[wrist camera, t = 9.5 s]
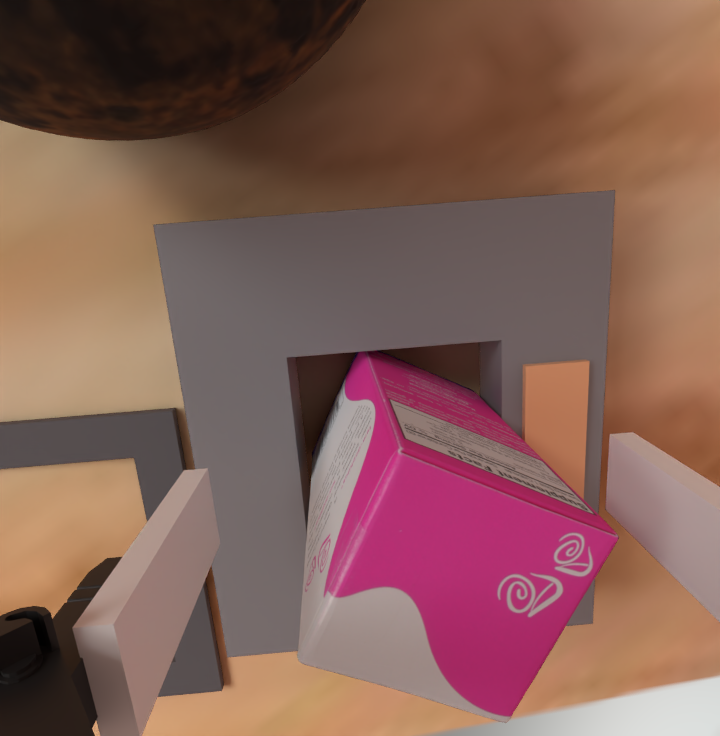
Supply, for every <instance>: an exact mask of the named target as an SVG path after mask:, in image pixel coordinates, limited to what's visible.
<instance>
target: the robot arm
mask: <svg viewBox="0 0 720 736" xmlns="http://www.w3.org/2000/svg"><path fill="white" fill-rule="evenodd" d="M605 510H606V511H607V512H608V513H609V514H610V515H611V516H612V517H614V518H615V519H616V520H617V521H618V522H619V523H620V524H621V525H622V526H623V527H624V528H625V529H626V530H627V531H628V532H629V533H630V534H631V535H632V536H633V537H634V538H635V539H636V540H637V541H638V542H639V543H640V544H641V545H642V546H643V547H644V548H645V549H646V550H647V551H648V552H649V553H650V554H651V555H652V556H653V557H654V558H655V559H656V560H657V561H658V562H659V563H660V564H661V565H662V566H663V567H664V568H665V569H666V570H667V571H668V572H669V573H670V574H671V575H672V576H673V577H674V578H675V579H676V580H677V581H678V582H679V583H680V584H681V585H682V586H683V587H684V588H685V589H686V590H687V591H689V592H690V593H691V594H692V595H693V596H694V597H695V598H696V599H697V600H698V601H699V602H700V603H701V604H702V605H703V606H704V607H705V608H706V609H707V610H708V611H709V612H710V613H711V614H712V615H713V616H714V617H715V618H716V619H717V620H718V621H719V622H720V487H719V486H718V485H716V484H714V483H713V482H711V481H710V480H708V479H706V478H705V477H703V476H702V475H700V474H698V473H697V472H695V471H694V470H692V469H691V468H689V467H687V466H686V465H684V464H683V463H681V462H679V461H678V460H676V459H675V458H673V457H671V456H670V455H668V454H667V453H665V452H663V451H662V450H660V449H659V448H657V447H656V446H654V445H652V444H651V443H649V442H648V441H646V440H644V439H643V438H641V437H640V436H638V435H636V434H635V433H633V432H629V433H617V434H610V437H609V455H608V473H607V491H606V509H605ZM219 545H220V539H219V533H218V527H217V521H216V515H215V509H214V503H213V497H212V491H211V485H210V479H209V473H208V468H205V469H193V470H184V471H183V472H182V474H181V475H180V476H179V478H178V479H177V481H176V482H175V484H174V485H173V486H172V488H171V489H170V491H169V492H168V493H167V495H166V496H165V498H164V499H163V501H162V502H161V503H160V505H159V506H158V508H157V509H156V510H155V512H154V513H153V515H152V516H151V517H150V519H149V520H148V522H147V523H146V525H145V526H144V527H143V529H142V530H141V532H140V533H139V534H138V536H137V537H136V539H135V540H134V541H133V543H132V544H131V546H130V547H129V549H128V550H127V551H126V553H125V554H124V556H123V557H116V558H107V559H106V560H104V561H103V562H102V563H100V564H99V565H98V566H96V567H95V568H94V569H92V570H91V571H90V572H89V573H88V574H87V575H86V577H85V578H84V579H83V580H82V582H81V583H80V584H79V586H78V587H77V590H75V591H74V592H73V593H72V595H71V596H70V597H69V598H68V601H67V603H65V604H64V605H63V606H62V607H61V609H60V610H59V611H58V613H57V614H56V615H55V616H54V618H53V619H52V617H51V613H50V612H49V611H48V610H47V609H46V608H45V607H38V606H31V607H25V608H20V609H17V610H14V611H11V612H8V613H6V614H3V615H2V616H0V736H95V735H94V733H93V730H92V727H93V725H94V723H95V721H96V720H97V724H98V728H99V732H100V736H142V733H143V731H144V728H145V726H146V723H147V721H148V719H149V716H150V714H151V711H152V709H153V706H154V704H155V701H156V699H157V697H158V694H159V692H160V689H161V687H162V684H163V682H164V679H165V677H166V675H167V672H168V670H169V667H170V665H171V662H172V660H173V658H174V655H175V653H176V650H177V648H178V645H179V643H180V640H181V638H182V636H183V633H184V631H185V628H186V626H187V623H188V621H189V618H190V616H191V614H192V611H193V609H194V606H195V604H196V601H197V599H198V596H199V594H200V592H201V589H202V587H203V584H204V582H205V579H206V577H207V574H208V572H209V570H210V567H211V565H212V562H213V560H214V557H215V555H216V552H217V550H218V548H219Z"/></svg>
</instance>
